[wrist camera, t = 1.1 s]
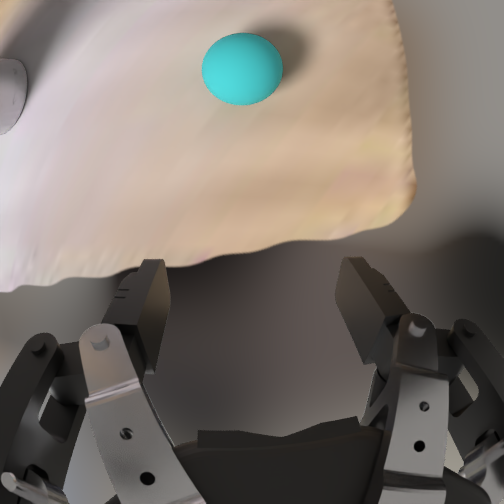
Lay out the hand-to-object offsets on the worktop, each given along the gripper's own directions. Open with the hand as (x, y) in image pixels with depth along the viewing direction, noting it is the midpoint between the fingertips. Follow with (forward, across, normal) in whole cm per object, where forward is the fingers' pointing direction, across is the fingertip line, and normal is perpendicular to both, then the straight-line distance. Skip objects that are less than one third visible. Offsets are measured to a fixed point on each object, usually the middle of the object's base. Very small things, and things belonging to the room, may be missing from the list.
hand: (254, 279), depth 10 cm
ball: (+13, 0, -10) cm, 16 cm away
